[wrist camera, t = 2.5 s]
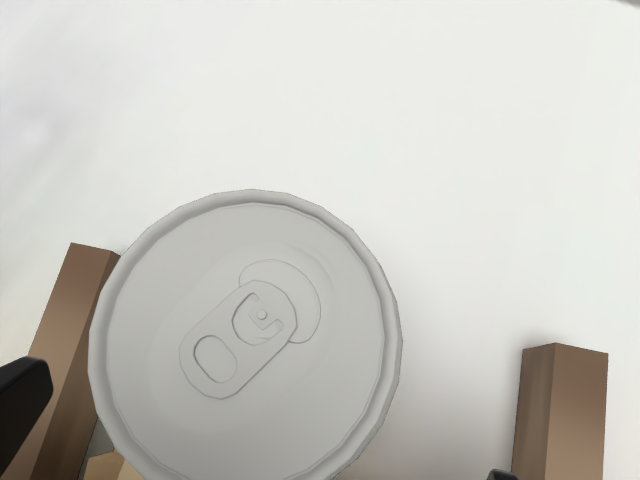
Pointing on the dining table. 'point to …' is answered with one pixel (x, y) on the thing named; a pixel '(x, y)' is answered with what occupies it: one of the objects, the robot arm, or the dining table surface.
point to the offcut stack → (110, 468)
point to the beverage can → (245, 343)
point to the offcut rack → (80, 415)
